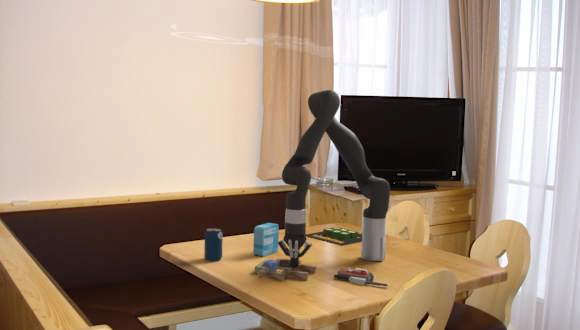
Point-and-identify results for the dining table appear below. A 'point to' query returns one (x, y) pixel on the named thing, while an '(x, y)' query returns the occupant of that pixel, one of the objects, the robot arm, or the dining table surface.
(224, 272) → the dining table surface
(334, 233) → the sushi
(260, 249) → the light blue box
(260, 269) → the trap channel
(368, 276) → the walkie-talkie
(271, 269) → the decorative dice
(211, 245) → the soda can
